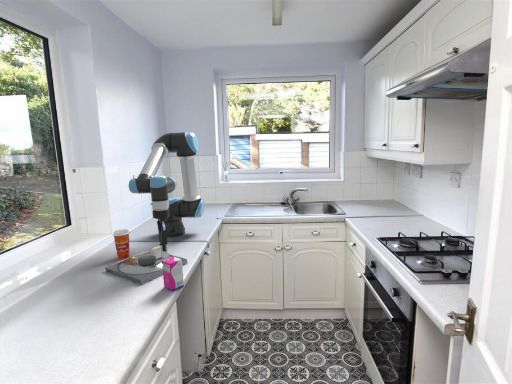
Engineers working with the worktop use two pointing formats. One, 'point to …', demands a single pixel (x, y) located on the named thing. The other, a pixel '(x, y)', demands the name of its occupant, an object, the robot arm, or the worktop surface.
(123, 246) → the paper cup
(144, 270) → the panel
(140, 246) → the worktop surface
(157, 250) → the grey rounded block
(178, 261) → the supplement box
